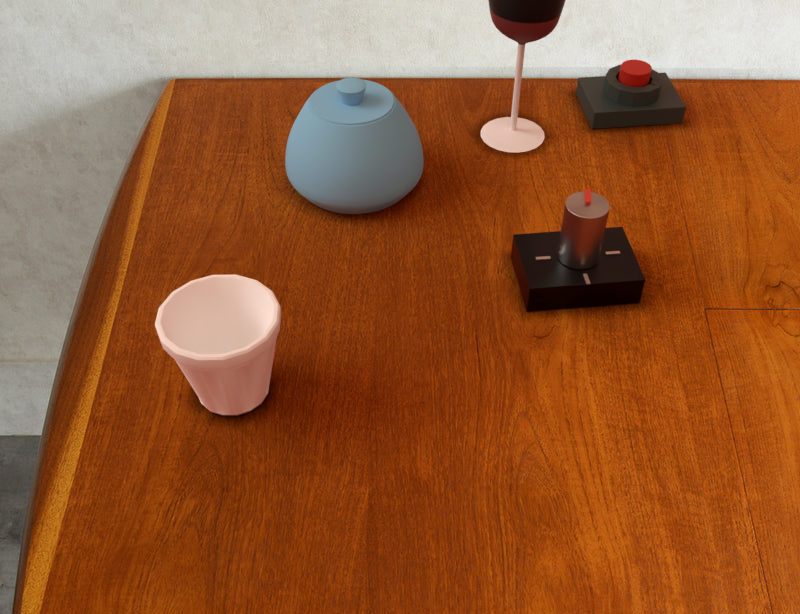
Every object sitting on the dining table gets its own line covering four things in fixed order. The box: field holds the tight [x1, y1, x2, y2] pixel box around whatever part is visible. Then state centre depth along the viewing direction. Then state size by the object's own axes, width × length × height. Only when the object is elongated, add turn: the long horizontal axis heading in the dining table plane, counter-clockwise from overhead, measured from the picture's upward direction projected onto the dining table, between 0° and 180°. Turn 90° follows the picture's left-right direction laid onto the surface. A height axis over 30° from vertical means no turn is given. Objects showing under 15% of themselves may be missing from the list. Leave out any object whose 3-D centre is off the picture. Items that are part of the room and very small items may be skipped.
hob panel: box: [510, 226, 646, 313], centre depth 87 cm, size 11×8×3 cm
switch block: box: [575, 63, 687, 130], centre depth 107 cm, size 11×8×4 cm
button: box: [618, 59, 653, 87], centre depth 105 cm, size 4×4×2 cm
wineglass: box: [480, 0, 566, 154], centre depth 97 cm, size 8×9×20 cm
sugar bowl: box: [284, 77, 425, 215], centre depth 94 cm, size 15×15×12 cm
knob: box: [557, 188, 611, 269], centre depth 83 cm, size 4×4×6 cm
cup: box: [154, 273, 282, 417], centre depth 75 cm, size 10×10×9 cm
